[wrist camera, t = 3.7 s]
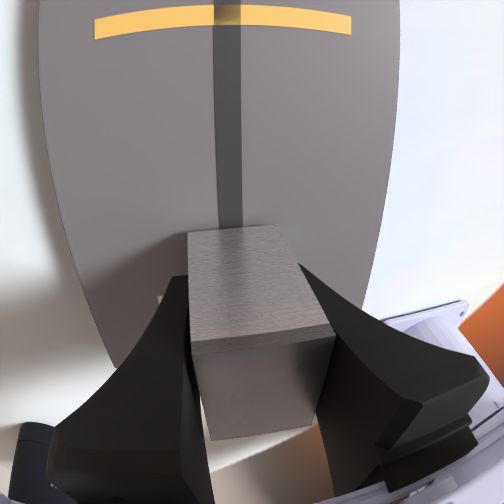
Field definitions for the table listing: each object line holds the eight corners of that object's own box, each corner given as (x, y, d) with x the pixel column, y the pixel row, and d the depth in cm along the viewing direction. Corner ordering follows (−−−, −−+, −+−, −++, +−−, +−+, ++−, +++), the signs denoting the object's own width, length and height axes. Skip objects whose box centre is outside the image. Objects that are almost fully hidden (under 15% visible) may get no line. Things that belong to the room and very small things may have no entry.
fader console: (339, 314, 17) (353, 339, 16) (119, 339, 15) (114, 368, 14) (366, -74, 7) (391, -88, 5) (70, -75, 5) (54, -93, 3)
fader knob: (272, 313, 13) (311, 424, 9) (198, 321, 13) (211, 440, 8) (276, 224, 11) (336, 335, 6) (187, 232, 11) (191, 355, 6)
